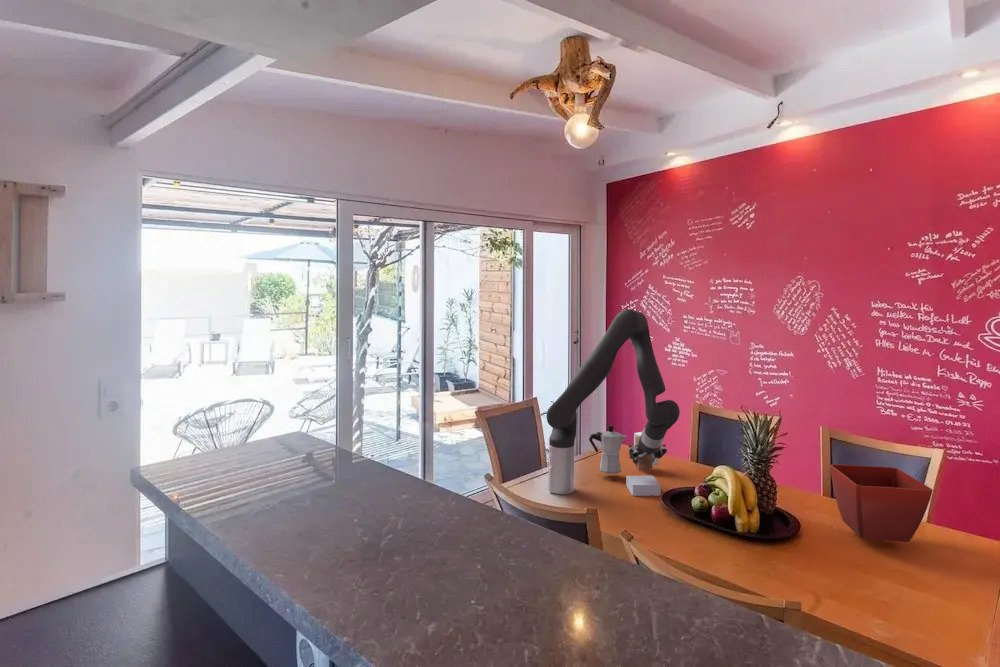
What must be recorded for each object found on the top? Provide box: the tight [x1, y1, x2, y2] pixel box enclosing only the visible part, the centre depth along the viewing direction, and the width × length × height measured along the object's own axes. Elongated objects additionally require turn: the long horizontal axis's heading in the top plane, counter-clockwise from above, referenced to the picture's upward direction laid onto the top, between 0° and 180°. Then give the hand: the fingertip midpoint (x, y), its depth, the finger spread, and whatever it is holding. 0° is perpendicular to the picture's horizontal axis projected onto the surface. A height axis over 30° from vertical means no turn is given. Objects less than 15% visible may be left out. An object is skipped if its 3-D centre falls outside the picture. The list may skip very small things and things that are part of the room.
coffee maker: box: [588, 424, 628, 475], centre depth 216 cm, size 15×9×18 cm, turn 84°
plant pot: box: [829, 463, 934, 543], centre depth 160 cm, size 19×19×17 cm
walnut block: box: [634, 437, 653, 471], centre depth 201 cm, size 5×5×11 cm
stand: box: [625, 475, 662, 497], centre depth 202 cm, size 10×10×4 cm
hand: (642, 461), depth 203 cm, fingers closed on walnut block, 5 cm apart
